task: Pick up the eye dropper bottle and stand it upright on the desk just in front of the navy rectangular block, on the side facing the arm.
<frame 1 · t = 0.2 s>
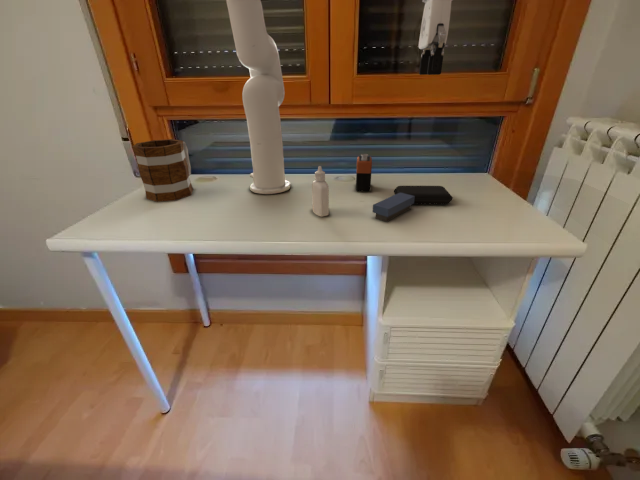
hand: (429, 74, 83), 31 cm above the table, tool pointing down, fingers open, 9 cm apart
mug: (176, 191, 100), on the table
eye dropper bottle: (320, 213, 82), on the table
carrying case: (420, 199, 89), on the table
navy rectangular block: (393, 213, 81), on the table
battery: (363, 188, 99), on the table
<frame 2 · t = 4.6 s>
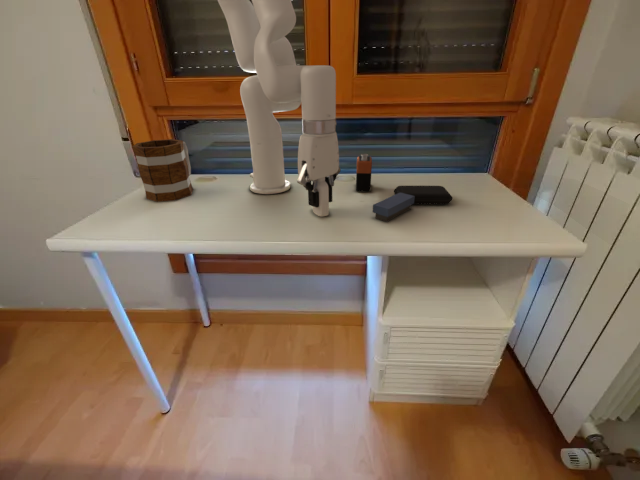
hand: (320, 202, 80), 3 cm above the table, tool pointing down, fingers closed on eye dropper bottle, 4 cm apart
eye dropper bottle: (320, 213, 82), on the table, touching gripper
everything else where it was.
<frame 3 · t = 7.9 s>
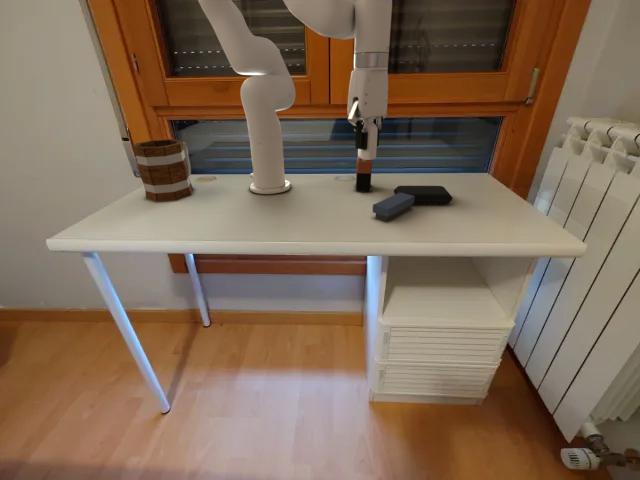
hand: (367, 146, 79), 15 cm above the table, tool pointing down, fingers closed on eye dropper bottle, 4 cm apart
eye dropper bottle: (366, 158, 80), point 13 cm above the table, touching gripper
everything else where it was.
when the fingers open (3 cm above the table, at t = 11.0 s): eye dropper bottle stays where it is, on the table.
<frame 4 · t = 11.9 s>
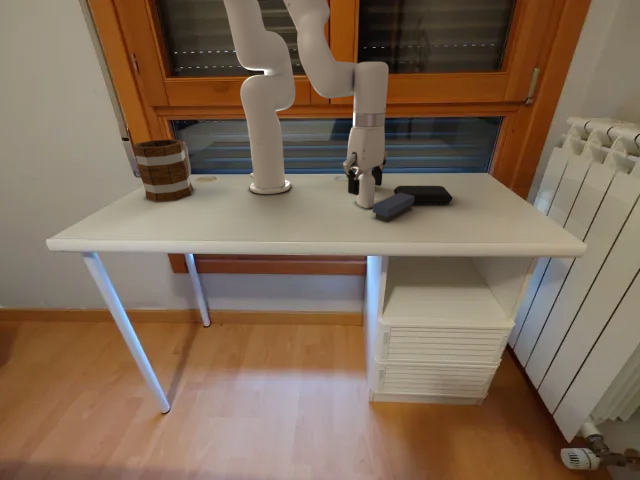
hand: (365, 189, 84), 4 cm above the table, tool pointing down, fingers open, 9 cm apart
eye dropper bottle: (365, 205, 86), on the table
everything else where it was.
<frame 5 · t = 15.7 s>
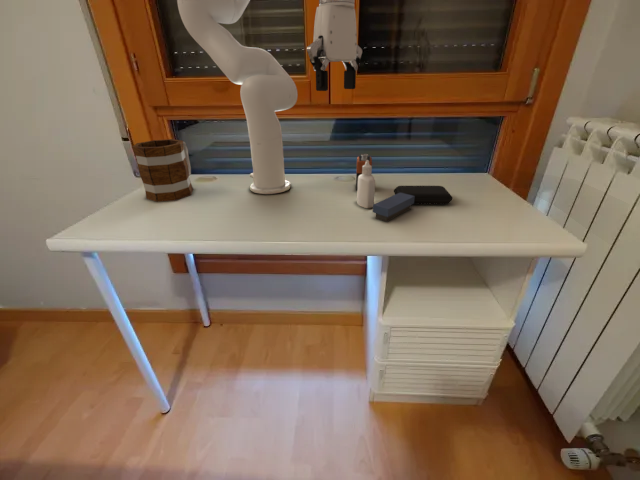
hand: (336, 89, 75), 28 cm above the table, tool pointing down, fingers open, 9 cm apart
nothing on the table moved.
at the end: eye dropper bottle inside the target area on the table beside the navy rectangular block (0.1 cm from its centre), on the table; eye dropper bottle tilted 0°; navy rectangular block moved 0.0 cm from its start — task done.
